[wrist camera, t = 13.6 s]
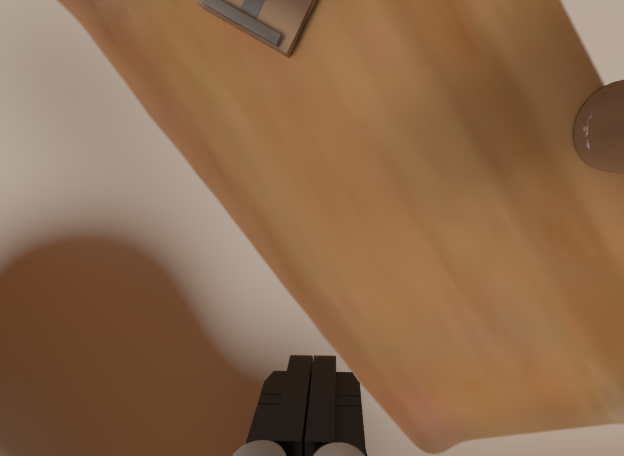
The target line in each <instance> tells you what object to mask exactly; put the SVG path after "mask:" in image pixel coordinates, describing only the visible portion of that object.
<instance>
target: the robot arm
mask: <svg viewBox="0 0 624 456" xmlns="http://www.w3.org/2000/svg"><path fill="white" fill-rule="evenodd" d="M574 142H575V147H576V149H577V151H578V153H579V155H580V156H581V158H582V159H583V160H584V161H585V162H586V163H587V164H589V165H590V166H591V167H594V168H596V169H599V170H602V171H608V172H616V173H624V80H621V81H616V82H613V83H611V84H608V85H606V86H604V87H602V88H601V89H599V90H598V91H596V92H595V93H594V94H593V95H592V96H591V97H590V98H589V99H588V100H587V101H586V102H585V104H584V105H583V106H582V108H581V109H580V112H579V114H578V116H577V118H576V122H575V126H574ZM233 456H367V453H366V449H365V437H364V426H363V415H362V405H361V392H360V383H359V381H358V380H357V379H356V377H355V376H354V374H353V373H352V372H336V356H314V360H313V356H307V355H304V356H303V355H291V356H290V359H289V364H288V368H287V371H273V372H272V374H271V375H270V376H269V377H268V378H267V379H266V380H265V381H264V384H263V388H262V391H261V396H260V398H259V401H258V406H257V408H256V411H255V414H254V418H253V421H252V424H251V428H250V431H249V434H248V438H247V441H246V444H245V445H243V446H242V447H241V448H239V449H238V450H237V451H236V452H235V453H234V455H233Z"/></svg>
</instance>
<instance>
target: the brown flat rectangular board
mask: <svg viewBox="0 0 624 456" xmlns="http://www.w3.org/2000/svg"><path fill="white" fill-rule="evenodd" d="M316 1H317V0H198V2H197V3H198V4H199V5H200V6H201V7H202V8H203V9H204V10H206V11H208V12H209V13H211V14H213V15H215V16H216V17H218V18H220V19H222V20H223V21H225V22H227V23H229V24H230V25H232V26H234V27H236V28H237V29H239V30H241V31H243V32H244V33H246V34H248V35H250V36H251V37H253V38H255V39H257V40H258V41H260V42H262V43H264V44H265V45H267V46H269V47H271V48H272V49H274V50H276V51H278V52H279V53H281V54H283V55H285V56H286V57H288V58H289V57H290V55H291V53H292V51H293V49H294V47H295V45H296V43H297V40H298V38H299V36H300V34H301V32H302V30H303V28H304V26H305V24H306V22H307V20H308V18H309V15H310V13H311V11H312V9H313V7H314V5H315V3H316Z"/></svg>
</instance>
